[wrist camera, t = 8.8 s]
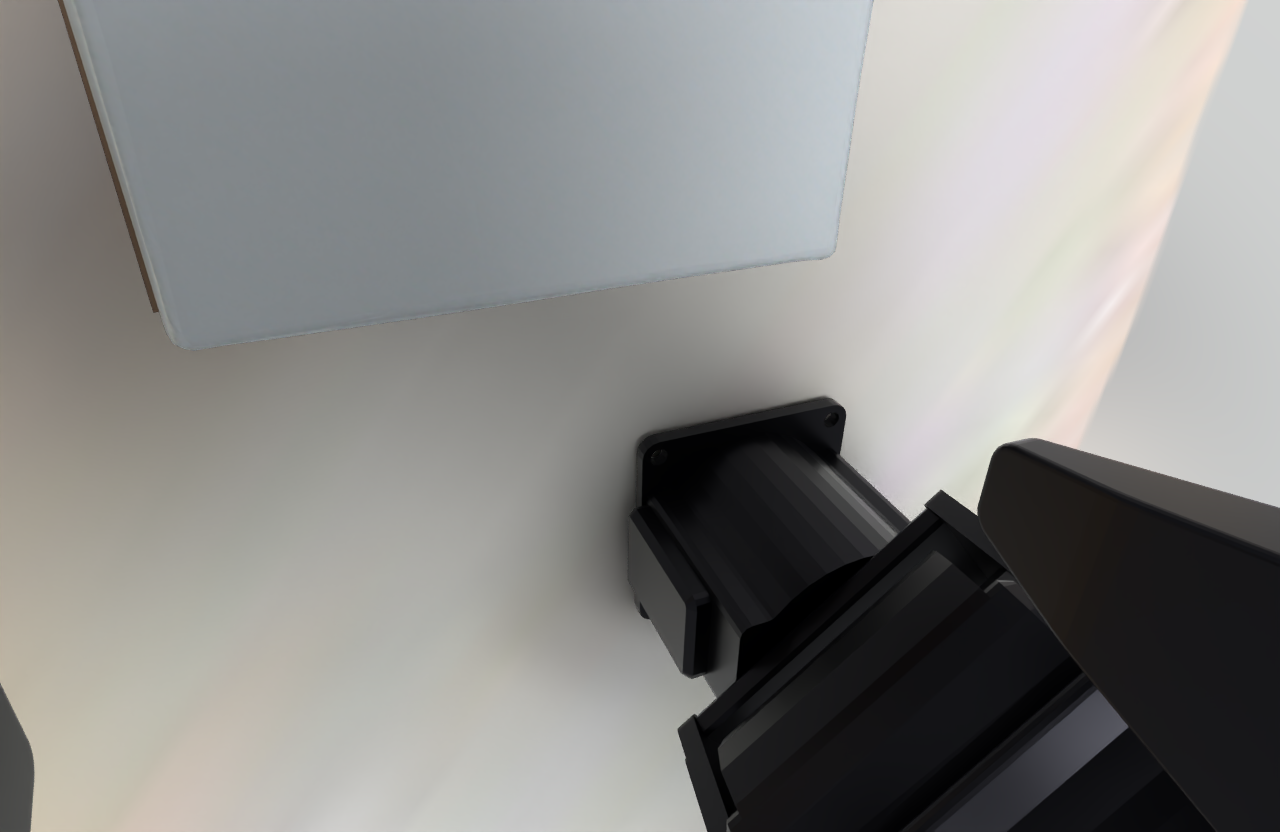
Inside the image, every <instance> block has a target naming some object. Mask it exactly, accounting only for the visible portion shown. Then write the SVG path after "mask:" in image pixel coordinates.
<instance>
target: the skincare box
mask: <svg viewBox="0 0 1280 832" xmlns="http://www.w3.org/2000/svg"><path fill="white" fill-rule="evenodd" d="M63 2H64V5H65V8H66V11H67V15H68V18H69V21H70V24H71V27H72V31H73V34H74V37H75V40H76V43H77V47H78V50H79V53H80V56H81V59H82V63H83V66H84V69H85V72H86V76H87V79H88V82H89V85H90V88H91V92H92V95H93V98H94V101H95V104H96V108H97V111H98V114H99V117H100V121H101V124H102V127H103V130H104V133H105V137H106V140H107V143H108V146H109V150H110V153H111V156H112V159H113V162H114V166H115V169H116V172H117V175H118V179H119V182H120V185H121V188H122V191H123V195H124V198H125V201H126V204H127V208H128V211H129V214H130V217H131V221H132V224H133V227H134V230H135V234H136V237H137V240H138V244H139V247H140V250H141V253H142V257H143V260H144V263H145V267H146V270H147V273H148V276H149V280H150V283H151V286H152V290H153V293H154V296H155V299H156V303H157V306H158V309H159V313H160V316H161V319H162V322H163V325H164V328H165V331H166V334H167V335H168V337H169V338H170V340H171V342H172V343H173V344H175V345H177V346H179V347H180V348H182V349H187V350H192V351H195V350H201V349H207V348H213V347H219V346H225V345H233V344H240V343H247V342H255V341H262V340H270V339H277V338H284V337H291V336H298V335H305V334H312V333H319V332H326V331H333V330H340V329H347V328H354V327H361V326H368V325H375V324H382V323H389V322H396V321H403V320H409V319H416V318H423V317H430V316H437V315H444V314H450V313H457V312H464V311H470V310H477V309H484V308H490V307H497V306H504V305H510V304H517V303H524V302H530V301H536V300H542V299H549V298H555V297H561V296H567V295H574V294H580V293H586V292H592V291H599V290H605V289H611V288H618V287H624V286H631V285H638V284H644V283H651V282H657V281H664V280H671V279H677V278H684V277H691V276H698V275H705V274H712V273H719V272H726V271H733V270H740V269H747V268H754V267H761V266H768V265H774V264H781V263H788V262H795V261H805V260H821V259H824V258H827V257H830V256H831V255H832V254H833V253H834V252H835V248H836V243H837V236H838V227H839V218H840V211H841V205H842V198H843V191H844V185H845V178H846V171H847V164H848V158H849V151H850V144H851V137H852V130H853V123H854V116H855V109H856V102H857V96H858V89H859V83H860V77H861V71H862V65H863V59H864V53H865V48H866V42H867V36H868V30H869V24H870V18H871V12H872V6H873V0H63Z"/></svg>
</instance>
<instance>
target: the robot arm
mask: <svg viewBox="0 0 1280 832" xmlns="http://www.w3.org/2000/svg"><path fill="white" fill-rule="evenodd" d="M830 413H831V415H830V416H829V417H828V418H827V419H826V420H825V418H826V417H827V415H828V414H830ZM845 420H846V411H845V409H844V408H843V407H842V406H841V405H840V404H839V403H838V402H837V401H835V400H833V399H823V400H818V401H813V402H808V403H804V404H799V405H794V406H789V407H784V408H780V409H775V410H770V411H765V412H760V413H756V414H751V415H746V416H741V417H736V418H732V419H727V420H722V421H717V422H712V423H708V424H703V425H698V426H693V427H688V428H684V429H679V430H674V431H669V432H664V433H660V434H655V435H652V436H649V437H647V438H646V439H645V440H643V441H642V442H641V444H640V445H639V447H638V451H637V481H636V507H635V508H633V510H632V511H631V513H630V515H629V518H628V581H629V583H630V585H631V586H632V588H633V590H634V592H635V605H636V608H637V609H638V611H639V613H640V615H641V616H642V617H643V618H646V619H650V620H651V621H652V623H653V625H654V627H655V628H656V630H657V632H658V634H659V635H660V637H661V639H662V641H663V642H664V644H665V646H666V648H667V649H668V651H669V653H670V655H671V656H672V658H673V660H674V661H675V663H676V665H677V667H678V668H679V670H680V672H681V673H682V674H683V675H685V676H687V677H688V678H690V679H693V678H696V677H699V676H702V675H703V676H704V678H705V680H706V681H707V683H708V685H709V686H710V688H711V690H712V691H713V693H714V695H715V696H716V698H717V699H715V700H714V701H713V702H712V703H711V704H710V705H709V706H708V707H707V708H706V709H704V710H703V711H702V712H701V713H700V714H699V715H698V716H697V715H695V714H693V715H692V716H691V717H690V718H689V719H688V720H687V721H686V722H685V723H683V724H682V725H681V726H680V727H679V728H678V734H679V737H680V740H681V743H682V747H683V750H684V753H685V756H686V759H685V762H686V765H687V768H688V772H689V775H690V778H691V781H692V784H693V787H694V791H695V794H696V797H697V800H698V803H699V806H700V810H701V813H702V816H703V819H704V822H705V826H706V829H707V832H1280V508H1278V507H1275V506H1271V505H1268V504H1264V503H1261V502H1258V501H1254V500H1251V499H1247V498H1243V497H1240V496H1236V495H1233V494H1230V493H1226V492H1223V491H1219V490H1216V489H1212V488H1209V487H1205V486H1202V485H1198V484H1195V483H1191V482H1188V481H1184V480H1181V479H1178V478H1174V477H1171V476H1167V475H1164V474H1160V473H1157V472H1153V471H1150V470H1146V469H1143V468H1139V467H1136V466H1132V465H1129V464H1125V463H1122V462H1118V461H1115V460H1111V459H1108V458H1104V457H1101V456H1097V455H1094V454H1091V453H1087V452H1084V451H1080V450H1077V449H1073V448H1070V447H1066V446H1063V445H1059V444H1056V443H1052V442H1049V441H1045V440H1042V439H1037V438H1029V439H1023V440H1019V441H1014V442H1010V443H1005V444H1003V445H1001V446H999V447H998V448H997V449H996V450H995V452H994V453H993V455H992V458H991V461H990V464H989V468H988V472H987V475H986V479H985V482H984V486H983V489H982V493H981V496H980V500H979V504H978V516H977V515H975V514H974V513H973V512H971V511H970V510H968V509H967V508H966V507H964V506H963V505H962V504H960V503H959V502H957V501H956V500H955V499H953V498H952V497H951V496H949V495H948V494H946V493H945V492H944V491H942V490H940V491H939V492H938V493H937V494H936V495H934V496H933V497H932V498H931V499H930V500H929V501H928V502H927V503H926V504H925V507H926V509H925V510H924V511H923V512H921V513H920V514H919V515H918V516H917V517H916V518H915V519H914V520H913V521H912V522H911V521H909V520H908V519H907V518H906V517H905V516H904V515H903V514H902V513H901V512H900V511H899V510H898V509H897V508H896V507H894V506H893V505H892V504H891V503H890V502H889V501H888V500H887V499H886V498H885V497H884V496H883V495H882V494H881V493H879V492H878V491H877V490H876V489H875V488H874V487H873V486H872V485H871V484H870V483H869V482H868V481H867V480H866V479H864V478H863V477H862V476H861V475H860V474H859V473H858V472H857V471H856V470H855V469H854V468H853V467H852V466H851V465H850V464H848V463H847V462H846V461H845V460H844V459H843V458H842V457H841V456H840V451H841V445H842V438H843V432H844V426H845ZM657 450H662V451H661V453H660V454H659V455H658V456H656V457H654V458H651V456H652V454H653V453H654V452H655V451H657ZM33 789H34V760H33V754H32V750H31V746H30V743H29V741H28V739H27V737H26V735H25V733H24V731H23V729H22V727H21V725H20V723H19V720H18V718H17V716H16V714H15V712H14V710H13V708H12V706H11V704H10V702H9V700H8V698H7V696H6V694H5V692H4V690H3V688H2V686H1V684H0V832H30V831H31V817H32V803H33Z"/></svg>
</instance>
